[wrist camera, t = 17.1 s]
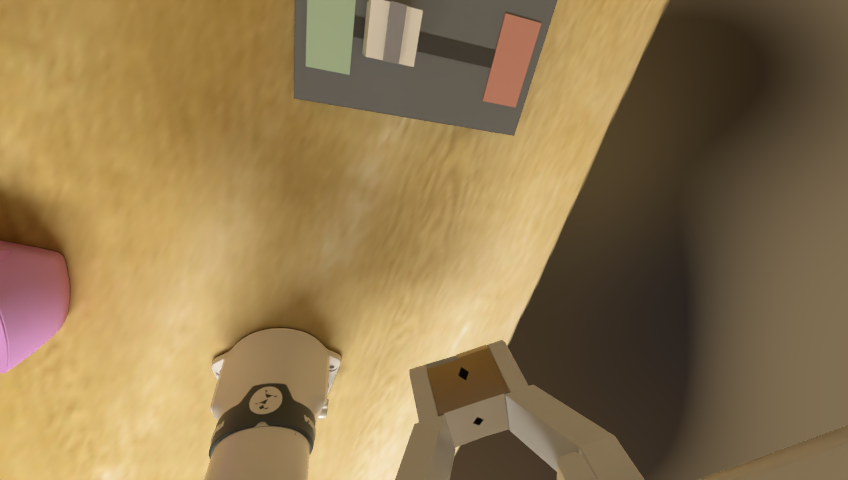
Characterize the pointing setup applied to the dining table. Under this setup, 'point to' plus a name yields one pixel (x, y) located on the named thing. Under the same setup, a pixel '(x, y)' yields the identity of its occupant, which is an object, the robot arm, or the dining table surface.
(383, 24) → the handle
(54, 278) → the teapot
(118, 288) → the dining table surface
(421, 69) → the breaker panel
